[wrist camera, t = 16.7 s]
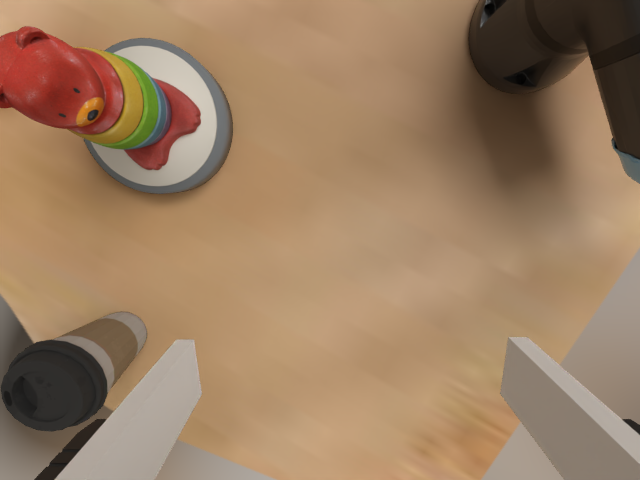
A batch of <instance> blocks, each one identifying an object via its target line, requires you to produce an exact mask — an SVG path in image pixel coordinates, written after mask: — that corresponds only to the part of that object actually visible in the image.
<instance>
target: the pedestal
mask: <svg viewBox="0 0 640 480" xmlns="http://www.w3.org/2000/svg"><path fill="white" fill-rule="evenodd" d="M105 51H106V52H110V53H113V54H116V55H119V56H121V57H124V58H126V59H128V60H130V61H132V62H133V63H135V64H136V65H138V66H139V67H140V68H142V69H143V70H144V71H145V72H146V73H148V74H149V75H150V76H151V77H152V78H155V79H158V80H161V81H164V82H166V83H168V84H170V85H172V86H174V87H176V88H177V89H179V90H180V91H182V92H183V93H184V94H186V95H187V96H188V97H189V98H190V99H191V100H192V101H193V102H194V103H195V104H196V105H197V107H198V108H199V110H200V113H201V116H200V119H201V124H200V125H199V126H198V127H197V129H196V131H195V132H193V133H191V134H187V135H183V136H181V137H179V138H178V139H177V140H176V141H175V142H174V143H173V145H172V146H171V149H170V151H169V157H168V161H167V163H166V164H165V165H164V166H162V168H161V169H159V170H154V169H152V170H146V169H144V168H142V167H141V166H139V165H138V164H137V163H136V162H135V161H133V160H132V159H131V158H130V157H129V156H128V154H127V153H126V152H125V151H124V150H121V149H112V148H108V147H104V146H101V145H98V144H96V143H93V142H91V141H89V140H87V139H84V138H83V139H84V141H85V143H86V145H87V147H88V149H89V151H90V153H91V154H92V156H93V157H94V159H95V160H96V161H97V163H98V164H99V165H100V166H101V167H102V168H103V169H104V170H105V171H106V172H107V173H108V174H109V175H110V176H112V177H113V178H114V179H116V180H117V181H119V182H120V183H122V184H124V185H126V186H128V187H130V188H133V189H135V190H139V191H142V192H147V193H156V194H163V193H175V192H183V191H188V190H191V189H194V188H196V187H199V186H200V185H202V184H204V183H206V182H207V181H208V180H210V179H211V178H212V177H213V176H214V175H215V174H216V173H217V172H218V171H219V169H220V168H221V167H222V165H223V163H224V162H225V160H226V158H227V155H228V153H229V150H230V147H231V142H232V135H233V122H232V115H231V110H230V107H229V103H228V101H227V98H226V96H225V94H224V92H223V90H222V88H221V87H220V85H219V84H218V82H217V81H216V80H215V78H214V77H213V76H212V75H211V74H210V73H209V72H208V71H207V70H206V69H205V68H204V67H203V66H202V65H201V64H200V63H199V62H198V61H197V60H196V59H195V58H193V57H192V56H191V55H190V54H188V53H187V52H185V51H184V50H182V49H181V48H179V47H177V46H175V45H173V44H170V43H167V42H164V41H161V40H156V39H151V38H137V39H130V40H126V41H122V42H119V43H117V44H115V45H113V46H111V47H109V48H108V49H106V50H105Z"/></svg>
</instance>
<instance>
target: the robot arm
mask: <svg viewBox="0 0 640 480" xmlns="http://www.w3.org/2000/svg"><path fill="white" fill-rule="evenodd" d="M469 46H470V52H471V56H472V60H473V62H474V65H475V67H476V69H477V70H478V72H479V73H480V75H481V76H482V77H483V78H484V79H485V80H486V81H487V82H488V83H489V84H490V85H492V86H493V87H495V88H497V89H499V90H501V91H504V92H508V93H514V94H524V93H530V92H534V91H537V90H540V89H542V88H544V87H547V86H549V85H552V84H554V83H556V82H557V81H559V80H561V79H562V78H564V77H565V76H567V75H568V74H569V73H570V72H571V71H573V70H574V69H575V68H576V67H577V66H578V65H579V64H580V63H581V62H582V61H583V60H584V59H585V58H586V57H587V56H588V55H589V57H590V60H591V64H592V67H593V71H594V75H595V78H596V82H597V85H598V88H599V92H600V95H601V98H602V102H603V105H604V109H605V112H606V115H607V119H608V122H609V125H610V129H611V132H612V136H613V138H612V146H613V149H614V150H615V151H616V152H617V154H618V155H619V157H620V160H621V163H622V166H623V168H624V171H625V173H626V174H627V175H628V176H629V177H631V178H632V179H633V180H634V181H636V182H637V183H639V184H640V0H480V1H479V3H478V5H477V7H476V9H475V11H474V14H473V17H472V21H471V25H470V32H469ZM500 394H501V396H502V397H503V398H504V400H505V401H506V402H507V404H508V405H509V406H510V408H511V409H512V410H513V412H514V413H515V414H516V416H517V417H518V418H519V420H520V421H521V422H522V424H523V425H524V426H525V427H526V429H527V430H528V432H529V433H530V434H531V436H532V437H533V438H534V440H535V441H536V442H537V444H538V445H539V447H540V448H541V449H542V451H543V452H544V453H545V454H546V456H547V457H548V459H549V460H550V461H551V463H552V464H553V465H554V467H555V468H556V469H557V471H558V472H559V473H560V475H561V476H562V477H563V479H564V480H640V425H639V424H637V423H636V422H634V421H632V420H631V419H621V418H619V417H618V416H617V415H616V414H615V413H614V412H612V411H611V410H610V409H609V408H608V407H607V406H606V405H605V404H603V403H602V402H601V401H600V400H599V399H598V398H597V397H595V396H594V395H593V394H592V393H591V392H590V391H589V390H587V389H586V388H585V387H584V386H583V385H582V384H581V383H579V382H578V381H577V380H576V379H575V378H574V377H573V376H571V375H570V374H569V373H568V372H567V371H566V370H565V369H563V368H562V367H561V366H560V365H559V364H558V363H556V362H555V361H554V360H553V359H552V358H551V357H550V356H548V355H547V354H546V353H545V352H544V351H543V350H542V349H540V348H539V347H538V346H537V345H536V344H535V343H534V342H532V341H531V340H530V339H529V338H528V337H508V343H507V350H506V357H505V364H504V371H503V378H502V385H501V392H500ZM201 395H202V392H201V385H200V378H199V371H198V364H197V357H196V350H195V343H194V339H193V340H176V341H175V342H174V343H173V344H172V345H171V346H170V347H169V349H168V350H167V351H166V352H165V353H164V354H163V355H162V357H161V358H160V359H159V360H158V361H157V362H156V364H155V365H154V366H153V367H152V368H151V369H150V370H149V372H148V373H147V374H146V375H145V376H144V377H143V378H142V380H141V381H140V382H139V383H138V384H137V385H136V387H135V388H134V389H133V390H132V391H131V392H130V393H129V395H128V396H127V397H126V398H125V399H124V400H123V401H122V403H121V404H120V405H119V406H118V407H117V408H116V410H115V411H114V412H113V413H112V414H111V415H110V416H109V418H108V419H97V420H95V421H94V422H92V423H91V424H90V425H88V426H87V427H85V428H84V429H83V430H81V431H80V432H79V433H77V434H76V436H75V437H74V438H73V439H72V440H71V441H70V442H69V443H68V444H67V445H66V446H65V447H64V449H63V451H62V452H61V453H59V454H58V455H57V456H56V457H55V458H54V459H53V460H52V461H51V462H50V465H49V466H48V467H46V468H45V469H44V470H43V471H42V472H41V473H40V474H39V475H38V476H37V477H36V478H35V480H155V478H156V476H157V474H158V472H159V471H160V469H161V467H162V465H163V463H164V462H165V460H166V458H167V456H168V454H169V453H170V451H171V449H172V447H173V445H174V444H175V442H176V440H177V438H178V436H179V435H180V433H181V431H182V429H183V427H184V426H185V424H186V422H187V420H188V418H189V416H190V415H191V413H192V411H193V409H194V407H195V406H196V404H197V402H198V400H199V398H200V397H201Z"/></svg>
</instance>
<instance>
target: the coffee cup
mask: <svg viewBox="0 0 640 480" xmlns="http://www.w3.org/2000/svg"><path fill="white" fill-rule="evenodd" d="M146 338H147V330H146V327H145V324H144V323H143V322H142V320H141V319H140V318H138V317H137V316H136V315H134V314H131V313H129V312H117V313H113V314H109V315H107V316H105V317H102V318H100V319H98V320H96V321H94V322H91V323H89V324H87V325H85V326H82V327H80V328H78V329H76V330H73V331H71V332H69V333H67V334H64V335H62V336H60V337H58V338H55V339H53V340H46V341H41V342H36V343H35V344H33V345H31V346H29V347H27V348H26V349H25V350H24V351H23V352H21V353H19V354H18V355H17V357H16V358H15V359H14V360H13V362H12V363H11V364H10V366H9V370H8V372H7V374H6V375H5V376H4V378H3V382H2V385H1V392H2V399H3V402H4V404H5V406H6V408H7V410H8V411H9V412H10V413H11V414H12V416H13V417H14V418H15V419H17V420H18V421H20V422H21V423H23V424H24V425H26V426H28V427H31V428H33V429H36V430H41V431H56V430H63V429H64V428H67V427H70V426H76V425H78V424H80V423H82V422H84V421H86V420H88V419H89V418H90V417H91V416H93V415H94V414H96V413H97V411H98V410H99V409H100V408H101V407H102V406H103V404H104V402H105V399H106V396H107V394H108V392H109V390H110V389H111V388H112V386H113V385H114V384H115V383H116V381H117V380H118V379H119V377H120V376H121V375H122V373H123V372H124V371H125V370H126V368H127V367H128V366H129V364H130V363H131V362H132V360H133V359H134V358H135V357H136V355H137V354H138V353H139V351H140V350H141V349H142V347H143V345H144V343H145V341H146Z"/></svg>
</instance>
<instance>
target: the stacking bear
mask: <svg viewBox="0 0 640 480" xmlns="http://www.w3.org/2000/svg"><path fill="white" fill-rule="evenodd" d="M10 107H12V108H14V109H16V110H18V111H19V112H21V113H22V114H24V115H25V116H27V117H29V118H31V119H33V120H35V121H37V122H40V123H42V124H45V125H48V126H52V127H56V128H63V129H68V130H69V131H71V132H73V133H74V134H76V135H78V136H80V137H82V138H84V139H87V140H89V141H91V142H93V143H96V144H98V145H101V146H104V147H108V148H112V149H121V150H124V151H125V152H126V153H127V154H128V156H129V157H130V158H131V159H132V160H133V161H135V162H136V163H137V164H138V165H139V166H141V167H142V168H144V169H146V170H152V169H154V170H159V169H161V168H162V166H164V165H165V164H166V163H167V161H168V157H169V151H170V149H171V146H172V145H173V143H174V142H175V141H176V140H177V139H178V138H179V137H181V136H183V135H187V134H191V133H193V132H195V131H196V129H197V127H198V126H199V125H200V124H201V119H200V116H201V113H200V110H199V108H198V107H197V105H196V104H195V103H194V102H193V101H192V100H191V99H190V98H189V97H188V96H187V95H186V94H184V93H183V92H182V91H180V90H179V89H177V88H176V87H174V86H172V85H170V84H168V83H166V82H164V81H161V80H158V79H155V78H152V77H151V76H150V75H149V74H148V73H146V72H145V71H144V70H143V69H142V68H140V67H139V66H138V65H136V64H135V63H133V62H132V61H130V60H128V59H126V58H124V57H121V56H119V55H116V54H113V53H110V52H106V51H101V50H98V49H93V48H86V47H74V48H73V47H71V46H70V45H68V44H67V43H65V42H63V41H62V40H60V39H58V38H56V37H54V36H51V35H49V34H46V33H44V32H43V31H42V30H40V29H38V28H35V27H29V26H25V27H22V28H21V29H19V30H18V31H15V32H10V33H8V34H5V35H3V36H1V37H0V108H10Z"/></svg>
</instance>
